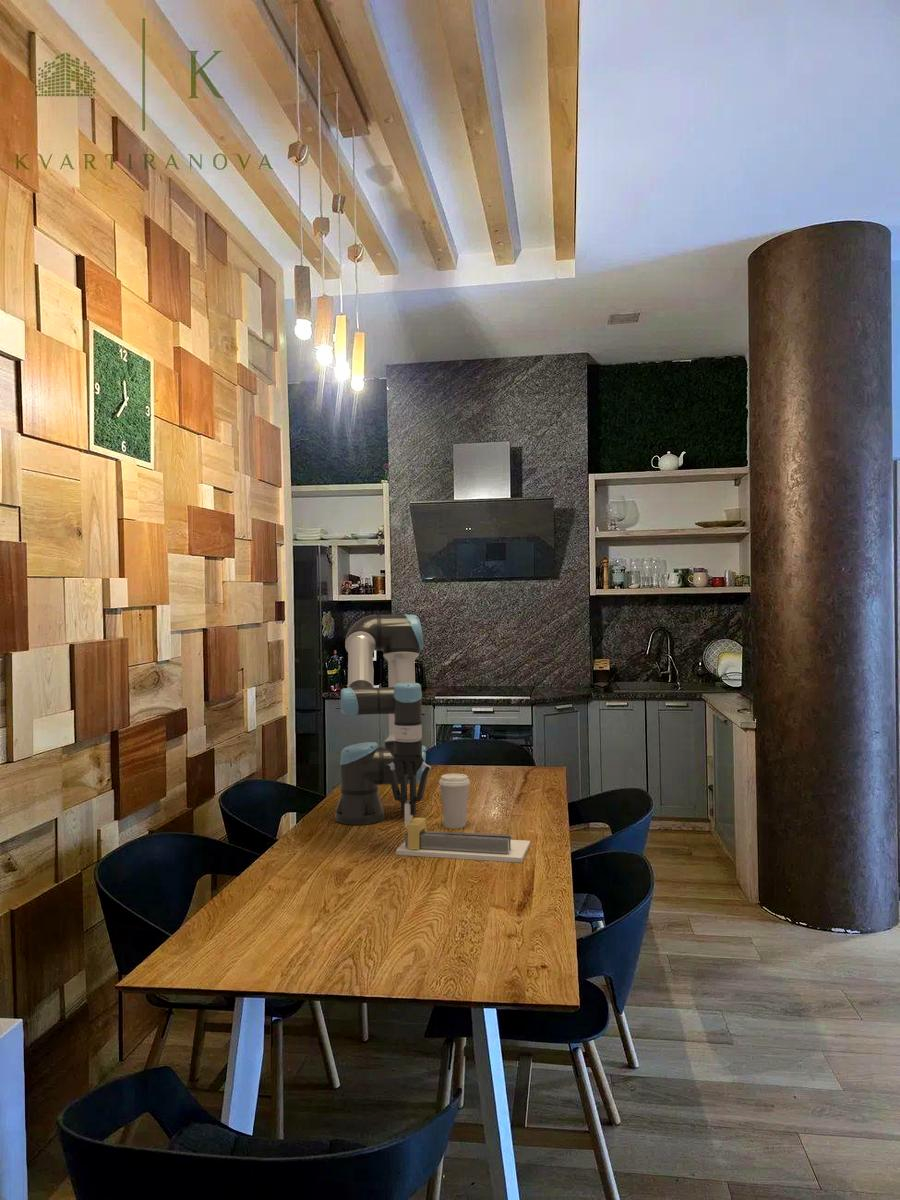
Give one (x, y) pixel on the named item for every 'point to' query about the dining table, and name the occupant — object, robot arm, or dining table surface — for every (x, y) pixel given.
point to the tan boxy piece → (415, 832)
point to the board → (472, 853)
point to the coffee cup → (454, 799)
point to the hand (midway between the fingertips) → (408, 826)
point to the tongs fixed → (462, 843)
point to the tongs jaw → (472, 835)
